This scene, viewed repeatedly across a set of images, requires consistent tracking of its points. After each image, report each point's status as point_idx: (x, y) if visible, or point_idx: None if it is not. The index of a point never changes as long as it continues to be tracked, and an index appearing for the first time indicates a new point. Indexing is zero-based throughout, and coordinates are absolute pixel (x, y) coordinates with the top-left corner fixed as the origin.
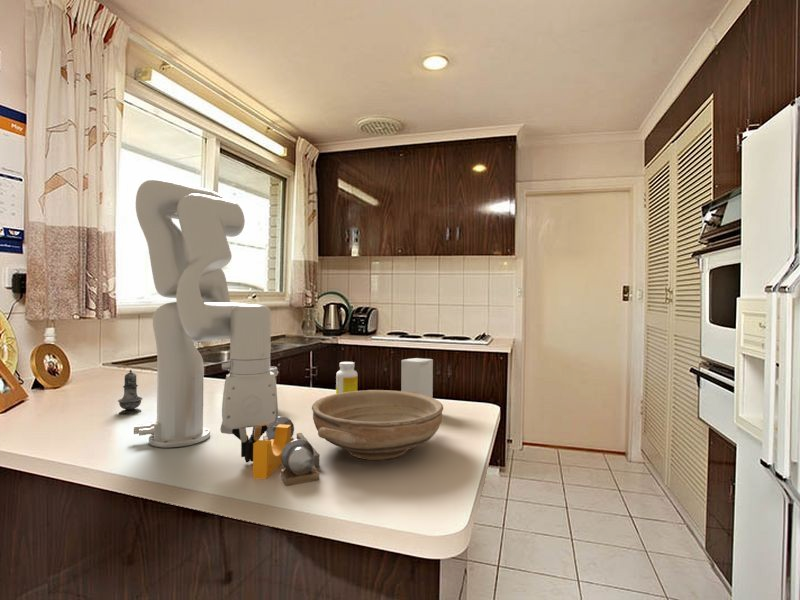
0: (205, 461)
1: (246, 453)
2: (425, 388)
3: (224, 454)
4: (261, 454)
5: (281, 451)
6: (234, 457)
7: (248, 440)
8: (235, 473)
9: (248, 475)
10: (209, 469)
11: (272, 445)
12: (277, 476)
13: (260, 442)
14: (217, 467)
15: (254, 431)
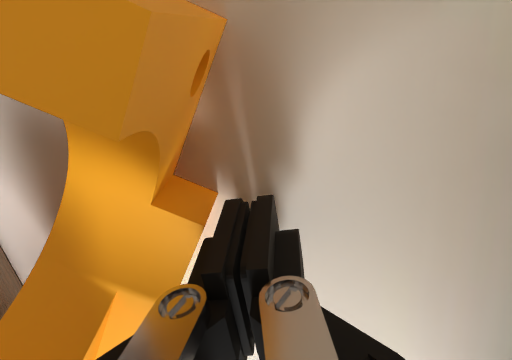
0: (468, 308)
1: (269, 219)
2: None
3: None
4: None
5: (58, 218)
6: None
7: (252, 299)
8: (328, 119)
9: (255, 69)
10: (461, 210)
11: (114, 288)
12: None
13: (63, 29)
14: (418, 224)
15: (185, 355)
